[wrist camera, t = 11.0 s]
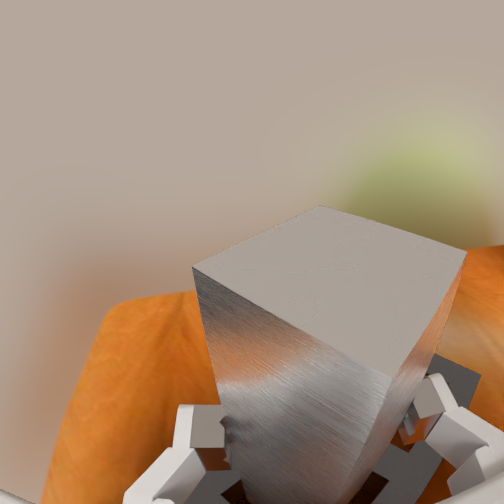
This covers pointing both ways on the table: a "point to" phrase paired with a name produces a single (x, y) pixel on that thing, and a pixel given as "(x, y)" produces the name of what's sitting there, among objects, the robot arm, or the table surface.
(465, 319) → the table surface
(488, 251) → the table surface
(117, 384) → the table surface
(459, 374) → the dark grey flat frame
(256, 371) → the post
